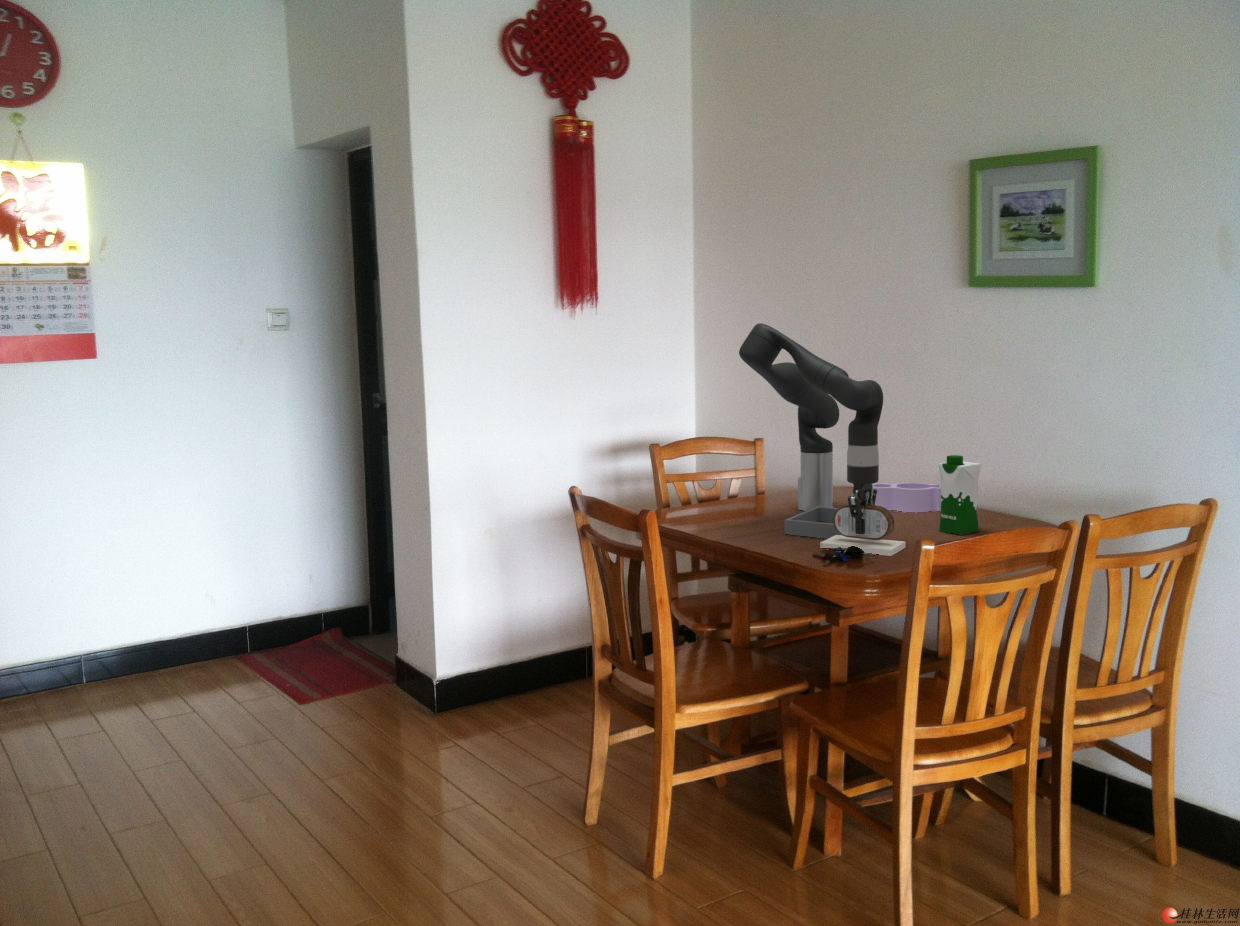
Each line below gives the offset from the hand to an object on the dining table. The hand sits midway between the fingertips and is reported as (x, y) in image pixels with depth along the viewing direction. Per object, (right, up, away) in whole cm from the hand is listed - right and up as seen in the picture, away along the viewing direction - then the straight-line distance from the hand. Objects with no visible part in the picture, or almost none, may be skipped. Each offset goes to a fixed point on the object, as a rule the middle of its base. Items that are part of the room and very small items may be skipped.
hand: (862, 532), depth 262 cm
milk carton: (+29, -1, +16) cm, 33 cm away
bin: (-4, -1, +22) cm, 23 cm away
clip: (+23, +3, +49) cm, 54 cm away
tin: (0, -2, 0) cm, 2 cm away
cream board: (0, -4, 0) cm, 4 cm away
